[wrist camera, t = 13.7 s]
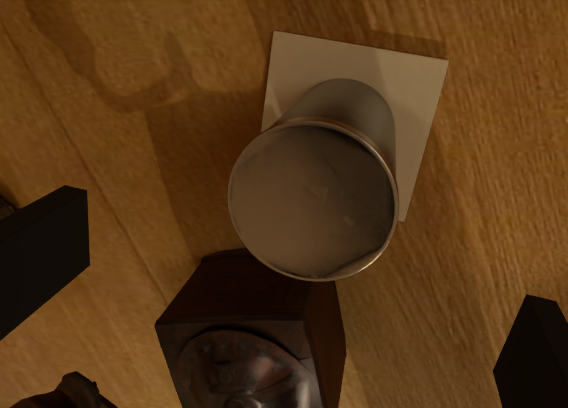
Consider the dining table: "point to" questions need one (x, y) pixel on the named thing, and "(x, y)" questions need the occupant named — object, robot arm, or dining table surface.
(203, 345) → the manual coffee grinder
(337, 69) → the plate
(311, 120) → the metal-rimmed black canister
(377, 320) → the dining table surface
